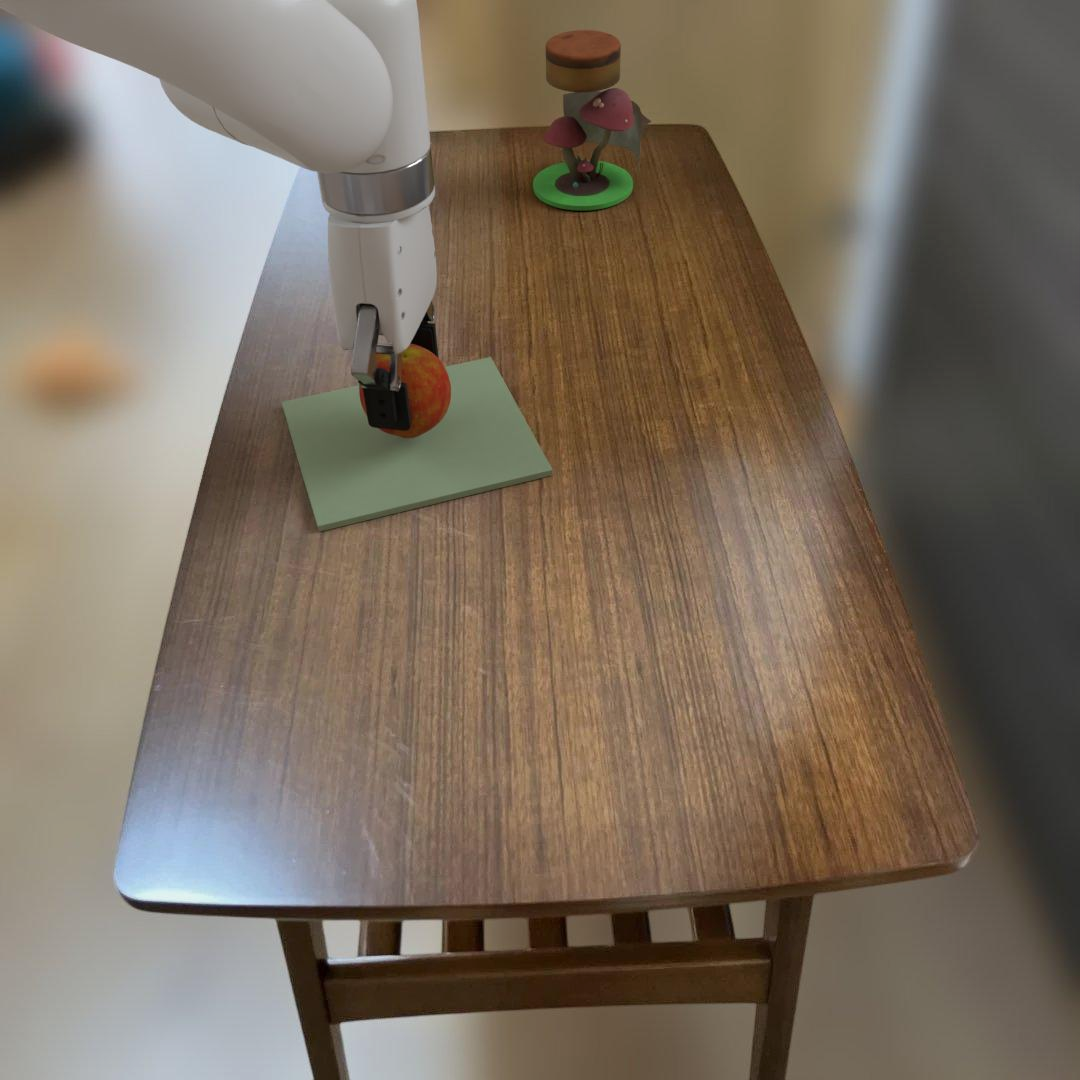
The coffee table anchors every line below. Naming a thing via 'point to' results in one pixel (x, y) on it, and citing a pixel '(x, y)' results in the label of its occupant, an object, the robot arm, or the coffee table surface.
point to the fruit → (420, 389)
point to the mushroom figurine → (588, 122)
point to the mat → (411, 450)
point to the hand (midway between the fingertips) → (405, 394)
